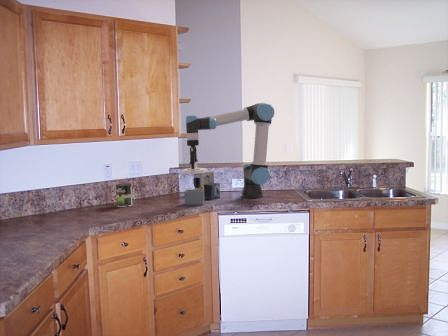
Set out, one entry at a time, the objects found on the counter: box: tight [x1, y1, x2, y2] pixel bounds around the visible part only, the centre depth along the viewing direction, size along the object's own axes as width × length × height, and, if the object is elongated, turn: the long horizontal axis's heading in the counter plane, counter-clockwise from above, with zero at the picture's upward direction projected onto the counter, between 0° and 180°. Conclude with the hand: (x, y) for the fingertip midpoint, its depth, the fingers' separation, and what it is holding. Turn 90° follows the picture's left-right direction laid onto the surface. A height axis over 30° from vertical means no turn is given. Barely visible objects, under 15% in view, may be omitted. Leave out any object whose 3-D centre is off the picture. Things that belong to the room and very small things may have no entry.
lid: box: [181, 167, 207, 175], centre depth 313 cm, size 14×12×3 cm
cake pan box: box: [192, 170, 215, 189], centre depth 352 cm, size 19×5×18 cm, turn 43°
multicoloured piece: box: [115, 183, 133, 208], centre depth 315 cm, size 10×10×14 cm
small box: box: [204, 182, 221, 201], centre depth 334 cm, size 11×6×10 cm, turn 143°
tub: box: [184, 188, 206, 206], centre depth 314 cm, size 12×8×9 cm, turn 88°
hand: (194, 172), depth 313 cm, fingers closed on lid, 12 cm apart
